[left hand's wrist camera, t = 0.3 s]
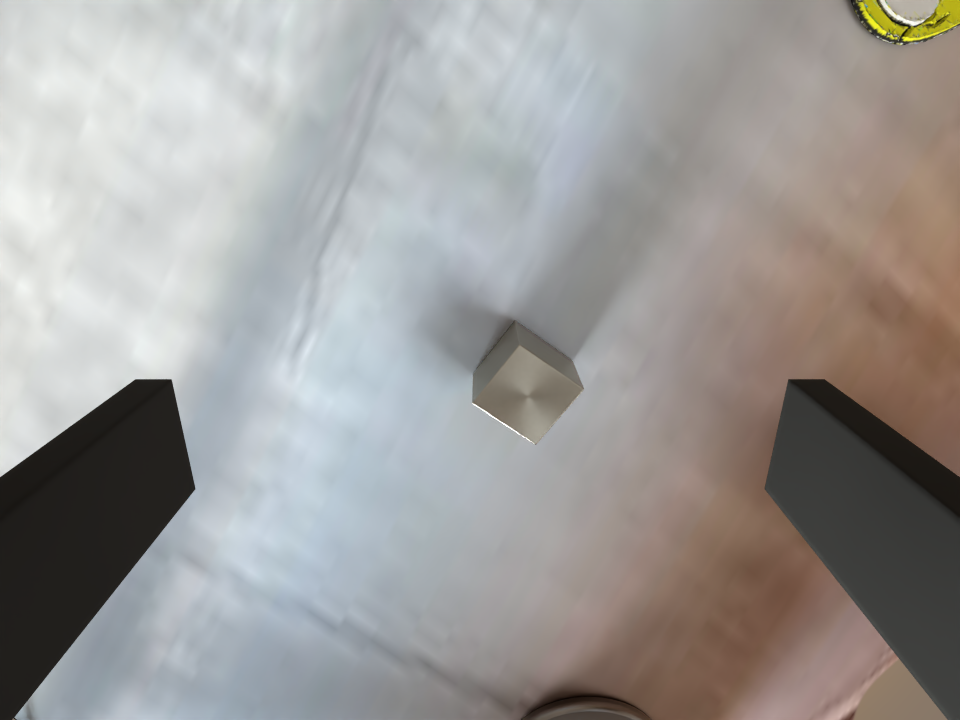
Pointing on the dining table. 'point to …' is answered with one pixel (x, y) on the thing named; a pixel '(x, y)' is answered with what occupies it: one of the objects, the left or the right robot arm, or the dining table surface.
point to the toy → (908, 18)
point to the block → (525, 383)
